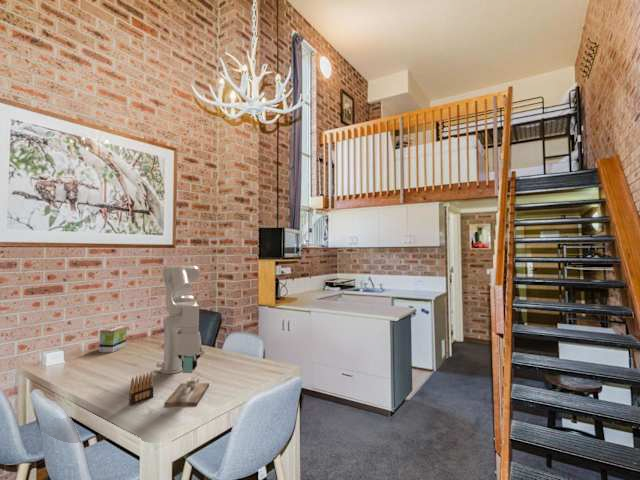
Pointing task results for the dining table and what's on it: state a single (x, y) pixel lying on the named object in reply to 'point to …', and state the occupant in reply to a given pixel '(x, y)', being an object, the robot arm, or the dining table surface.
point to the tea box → (112, 338)
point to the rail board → (192, 399)
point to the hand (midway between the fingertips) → (189, 368)
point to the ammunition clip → (141, 389)
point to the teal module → (188, 364)
